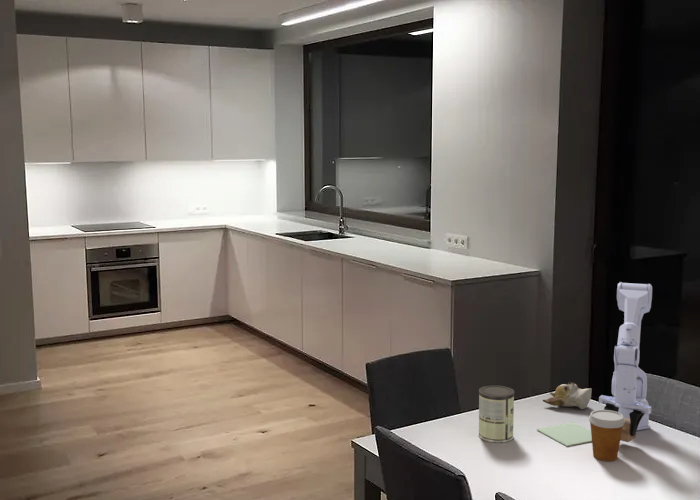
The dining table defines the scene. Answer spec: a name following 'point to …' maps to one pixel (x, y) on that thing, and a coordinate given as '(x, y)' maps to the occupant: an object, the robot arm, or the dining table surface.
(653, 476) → the dining table surface
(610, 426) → the disposable coffee cup
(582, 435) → the mat
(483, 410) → the coffee can
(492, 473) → the dining table surface
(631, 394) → the robot arm
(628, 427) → the letter cube
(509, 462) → the dining table surface
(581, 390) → the ceramic sculpture
